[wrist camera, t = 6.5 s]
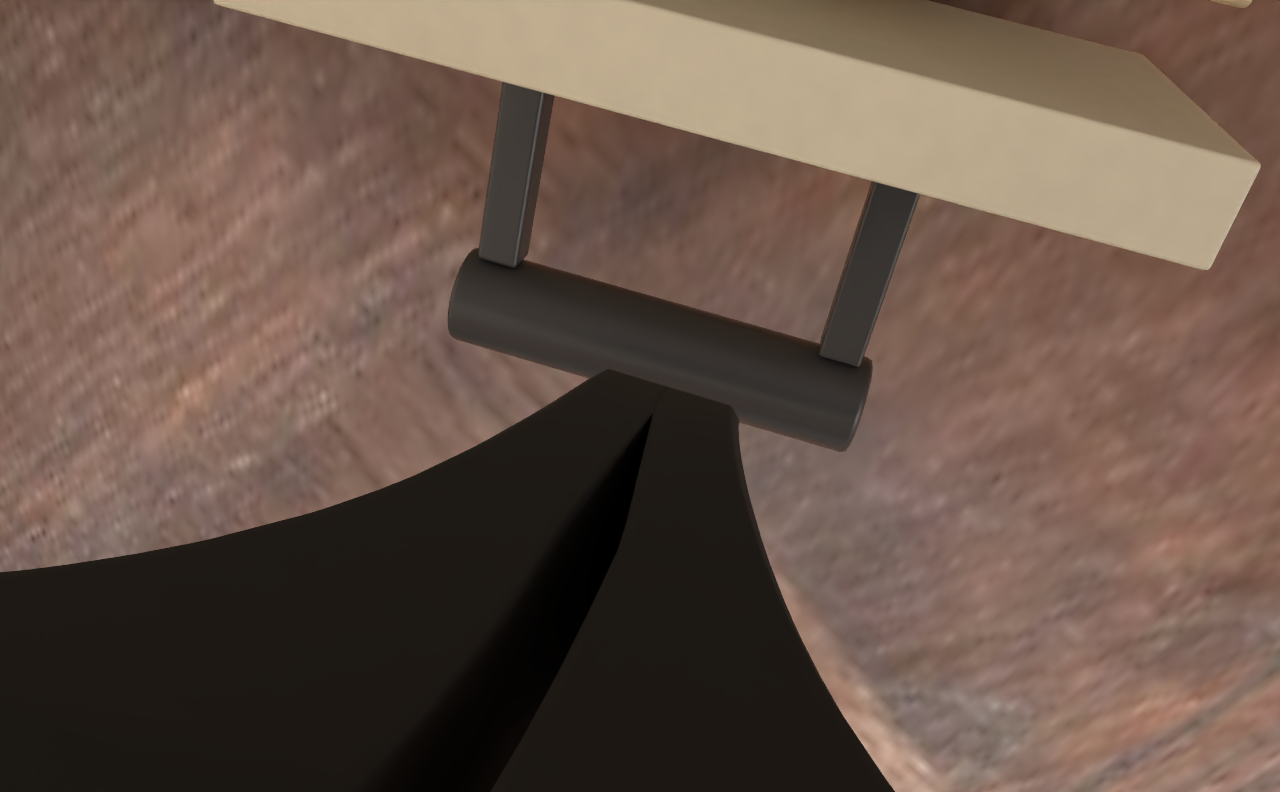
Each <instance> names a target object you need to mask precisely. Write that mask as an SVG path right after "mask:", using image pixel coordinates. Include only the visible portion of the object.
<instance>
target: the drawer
mask: <svg viewBox="0 0 1280 792" xmlns="http://www.w3.org/2000/svg"><path fill="white" fill-rule="evenodd" d="M1210 1H1214V2H1218V3H1222V4H1226V5H1230V6H1234V7H1238V8H1244V7H1247V6H1248V5H1249V4H1250V3H1251V2H1252V0H1210ZM214 3H215V4H217V5H219V6H223V7H227V8H230V9H234V10H238V11H242V12H245V13H249V14H253V15H256V16H260V17H264V18H268V19H271V20H275V21H279V22H282V23H286V24H290V25H294V26H297V27H301V28H305V29H309V30H312V31H316V32H320V33H323V34H327V35H331V36H335V37H338V38H342V39H346V40H349V41H353V42H357V43H361V44H364V45H368V46H372V47H375V48H379V49H383V50H387V51H390V52H394V53H398V54H401V55H405V56H409V57H413V58H416V59H420V60H424V61H428V62H431V63H435V64H439V65H442V66H446V67H450V68H454V69H457V70H461V71H465V72H468V73H472V74H476V75H480V76H483V77H487V78H491V79H494V80H498V81H502V82H503V84H502V91H501V98H500V105H499V112H498V119H497V126H496V133H495V140H494V147H493V154H492V161H491V168H490V175H489V182H488V189H487V196H486V202H485V209H484V216H483V223H482V230H481V237H480V244H479V248H475V249H473V250H472V251H471V252H470V253H469V254H468V255H467V257H466V259H465V260H464V262H463V264H462V265H461V267H460V270H459V272H458V274H457V277H456V280H455V283H454V286H453V289H452V293H451V297H450V302H449V309H448V330H449V333H450V335H451V336H452V337H453V338H455V339H457V340H460V341H463V342H467V343H470V344H474V345H477V346H481V347H484V348H487V349H491V350H494V351H498V352H501V353H504V354H508V355H511V356H515V357H518V358H522V359H525V360H528V361H532V362H535V363H539V364H542V365H545V366H549V367H552V368H556V369H559V370H562V371H566V372H569V373H573V374H576V375H580V376H583V377H586V378H592V377H593V376H595V375H597V374H599V373H601V372H603V371H605V370H607V369H611V370H614V371H618V372H621V373H624V374H628V375H631V376H634V377H638V378H641V379H644V380H648V381H651V382H654V383H658V384H661V385H664V386H668V387H671V388H674V389H678V390H681V391H684V392H688V393H691V394H694V395H698V396H701V397H704V398H708V399H711V400H714V401H718V402H721V403H724V404H728V405H731V406H732V408H733V409H734V411H735V413H736V415H737V417H738V418H739V422H740V423H743V424H747V425H750V426H754V427H757V428H760V429H764V430H767V431H771V432H774V433H778V434H781V435H784V436H788V437H791V438H795V439H798V440H801V441H805V442H808V443H812V444H815V445H819V446H822V447H825V448H829V449H832V450H836V451H839V452H842V451H846V449H847V448H848V447H849V445H850V444H851V442H852V440H853V437H854V435H855V432H856V430H857V427H858V424H859V421H860V418H861V415H862V412H863V409H864V405H865V402H866V398H867V395H868V391H869V387H870V382H871V377H872V370H873V366H872V360H870V359H869V358H868V357H864V354H865V351H866V348H867V345H868V343H869V340H870V337H871V334H872V331H873V328H874V325H875V322H876V320H877V317H878V314H879V311H880V308H881V305H882V302H883V300H884V297H885V294H886V291H887V288H888V285H889V282H890V279H891V277H892V274H893V271H894V268H895V265H896V262H897V259H898V256H899V254H900V251H901V248H902V245H903V242H904V239H905V236H906V233H907V231H908V228H909V225H910V222H911V219H912V216H913V213H914V210H915V208H916V205H917V202H918V199H919V196H920V194H922V195H926V196H930V197H933V198H937V199H941V200H944V201H948V202H952V203H956V204H959V205H963V206H967V207H970V208H974V209H978V210H982V211H985V212H989V213H993V214H996V215H1000V216H1004V217H1008V218H1011V219H1015V220H1019V221H1022V222H1026V223H1030V224H1034V225H1037V226H1041V227H1045V228H1049V229H1052V230H1056V231H1060V232H1063V233H1067V234H1071V235H1075V236H1078V237H1082V238H1086V239H1089V240H1093V241H1097V242H1101V243H1104V244H1108V245H1112V246H1115V247H1119V248H1123V249H1127V250H1130V251H1134V252H1138V253H1141V254H1145V255H1149V256H1153V257H1156V258H1160V259H1164V260H1167V261H1171V262H1175V263H1179V264H1182V265H1186V266H1190V267H1194V268H1197V269H1201V270H1208V269H1209V268H1210V267H1211V266H1212V264H1213V262H1214V260H1215V258H1216V256H1217V254H1218V252H1219V250H1220V248H1221V246H1222V244H1223V242H1224V240H1225V238H1226V236H1227V234H1228V232H1229V230H1230V228H1231V226H1232V224H1233V222H1234V220H1235V218H1236V216H1237V214H1238V212H1239V210H1240V208H1241V206H1242V204H1243V202H1244V200H1245V198H1246V196H1247V194H1248V192H1249V190H1250V188H1251V186H1252V184H1253V182H1254V180H1255V178H1256V176H1257V174H1258V172H1259V170H1260V165H1261V164H1260V163H1259V162H1258V161H1257V160H1256V159H1255V158H1253V157H1252V156H1251V155H1250V154H1249V153H1248V152H1247V151H1246V150H1245V149H1244V148H1243V147H1242V146H1241V145H1240V144H1238V143H1237V142H1236V141H1235V140H1234V139H1233V138H1232V137H1231V136H1230V135H1229V134H1228V133H1227V132H1226V131H1224V130H1223V129H1222V128H1221V127H1220V126H1219V125H1218V124H1217V123H1216V122H1215V121H1214V120H1213V119H1212V118H1211V117H1209V116H1208V115H1207V114H1206V113H1205V112H1204V111H1203V110H1202V109H1201V108H1200V107H1199V106H1198V105H1197V104H1195V103H1194V102H1193V101H1192V100H1191V99H1190V98H1189V97H1188V96H1187V95H1186V94H1185V93H1184V92H1183V91H1182V90H1180V89H1179V88H1178V87H1177V86H1176V85H1175V84H1174V83H1173V82H1172V81H1171V80H1170V79H1169V78H1168V77H1166V76H1165V75H1164V74H1163V73H1162V72H1161V71H1160V70H1159V69H1158V68H1157V67H1156V66H1155V65H1154V64H1153V63H1151V62H1150V61H1149V60H1148V59H1147V58H1146V57H1145V56H1144V55H1143V54H1139V53H1135V52H1131V51H1127V50H1123V49H1119V48H1115V47H1111V46H1107V45H1103V44H1099V43H1095V42H1091V41H1087V40H1083V39H1079V38H1075V37H1071V36H1067V35H1063V34H1059V33H1055V32H1051V31H1047V30H1043V29H1040V28H1036V27H1032V26H1028V25H1024V24H1020V23H1016V22H1012V21H1008V20H1004V19H1000V18H996V17H992V16H988V15H984V14H980V13H976V12H972V11H968V10H964V9H960V8H956V7H952V6H948V5H944V4H940V3H936V2H932V1H929V0H214ZM554 96H558V97H561V98H565V99H569V100H573V101H576V102H580V103H584V104H587V105H591V106H595V107H599V108H602V109H606V110H610V111H613V112H617V113H621V114H625V115H628V116H632V117H636V118H639V119H643V120H647V121H651V122H654V123H658V124H662V125H666V126H669V127H673V128H677V129H680V130H684V131H688V132H692V133H695V134H699V135H703V136H706V137H710V138H714V139H718V140H721V141H725V142H729V143H732V144H736V145H740V146H744V147H747V148H751V149H755V150H758V151H762V152H766V153H770V154H773V155H777V156H781V157H784V158H788V159H792V160H796V161H799V162H803V163H807V164H811V165H814V166H818V167H822V168H825V169H829V170H833V171H837V172H840V173H844V174H848V175H851V176H855V177H859V178H863V179H866V180H870V181H872V182H871V185H870V188H869V191H868V194H867V197H866V201H865V204H864V207H863V210H862V213H861V216H860V219H859V222H858V225H857V228H856V231H855V235H854V238H853V241H852V244H851V247H850V250H849V253H848V256H847V259H846V262H845V266H844V269H843V272H842V275H841V278H840V281H839V284H838V287H837V290H836V293H835V296H834V300H833V303H832V306H831V309H830V312H829V315H828V318H827V321H826V324H825V327H824V331H823V334H822V337H821V341H820V344H818V343H815V342H811V341H808V340H804V339H801V338H797V337H794V336H790V335H787V334H783V333H780V332H776V331H773V330H769V329H766V328H762V327H758V326H755V325H751V324H748V323H744V322H741V321H737V320H734V319H730V318H727V317H723V316H720V315H716V314H713V313H709V312H706V311H702V310H699V309H695V308H692V307H688V306H685V305H681V304H678V303H674V302H671V301H667V300H663V299H660V298H656V297H653V296H649V295H646V294H642V293H639V292H635V291H632V290H628V289H625V288H621V287H618V286H614V285H611V284H607V283H604V282H600V281H597V280H593V279H590V278H586V277H583V276H579V275H575V274H572V273H568V272H565V271H561V270H558V269H554V268H551V267H547V266H544V265H540V264H537V263H533V262H530V261H526V260H523V259H524V258H525V257H526V256H527V254H528V249H529V243H530V237H531V231H532V225H533V219H534V213H535V207H536V201H537V195H538V189H539V184H540V178H541V172H542V166H543V160H544V154H545V148H546V142H547V136H548V130H549V124H550V118H551V112H552V106H553V100H554Z"/></svg>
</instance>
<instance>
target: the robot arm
mask: <svg viewBox="0 0 1280 792" xmlns="http://www.w3.org/2000/svg"><path fill="white" fill-rule="evenodd" d="M738 426H739V418H738V417H737V415H736V413H735V411H734V409H733V408H732V406H731V405H728V404H724V403H721V402H718V401H714V400H711V399H708V398H704V397H701V396H698V395H694V394H691V393H688V392H684V391H681V390H678V389H674V388H671V387H668V386H664V385H661V384H658V383H654V382H651V381H648V380H644V379H641V378H638V377H634V376H631V375H628V374H624V373H621V372H618V371H614V370H611V369H607V370H605V371H603V372H601V373H599V374H597V375H595V376H593V377H592V378H590V379H588V380H587V381H585V382H584V383H582V384H580V385H579V386H577V387H576V388H574V389H573V390H571V391H569V392H568V393H566V394H565V395H563V396H562V397H560V398H558V399H557V400H555V401H554V402H552V403H550V404H549V405H547V406H545V407H544V408H542V409H540V410H539V411H537V412H535V413H534V414H532V415H531V416H529V417H527V418H525V419H523V420H522V421H520V422H518V423H516V424H515V425H513V426H511V427H509V428H507V429H506V430H504V431H502V432H500V433H499V434H497V435H495V436H493V437H491V438H490V439H488V440H486V441H484V442H482V443H481V444H479V445H477V446H475V447H473V448H471V449H469V450H467V451H465V452H463V453H461V454H459V455H456V456H454V457H452V458H450V459H448V460H446V461H444V462H442V463H440V464H438V465H436V466H433V467H431V468H429V469H427V470H425V471H423V472H421V473H419V474H417V475H415V476H412V477H410V478H407V479H405V480H403V481H400V482H398V483H395V484H392V485H390V486H387V487H385V488H382V489H380V490H377V491H374V492H371V493H368V494H366V495H363V496H360V497H357V498H354V499H351V500H348V501H345V502H343V503H340V504H337V505H334V506H331V507H328V508H325V509H322V510H319V511H315V512H312V513H309V514H305V515H302V516H298V517H294V518H290V519H286V520H282V521H278V522H275V523H271V524H267V525H263V526H259V527H255V528H251V529H248V530H244V531H240V532H236V533H232V534H228V535H224V536H221V537H217V538H213V539H209V540H204V541H200V542H195V543H190V544H185V545H180V546H175V547H170V548H164V549H159V550H154V551H149V552H144V553H138V554H133V555H126V556H120V557H114V558H107V559H101V560H95V561H88V562H82V563H76V564H69V565H61V566H53V567H46V568H38V569H31V570H21V571H10V572H0V792H895V791H894V790H893V788H892V787H891V786H890V784H889V783H888V782H887V780H886V779H885V777H884V776H883V775H882V773H881V772H880V770H879V769H878V767H877V766H876V764H875V763H874V761H873V760H872V758H871V757H870V755H869V754H868V752H867V751H866V749H865V748H864V746H863V745H862V743H861V742H860V740H859V739H858V737H857V736H856V734H855V733H854V731H853V730H852V728H851V727H850V726H849V724H848V723H847V721H846V720H845V718H844V717H843V715H842V713H841V712H840V710H839V708H838V706H837V705H836V703H835V701H834V699H833V698H832V696H831V694H830V693H829V691H828V689H827V687H826V686H825V684H824V682H823V680H822V679H821V677H820V675H819V673H818V671H817V669H816V667H815V665H814V663H813V661H812V659H811V657H810V655H809V653H808V651H807V649H806V647H805V646H804V644H803V642H802V639H801V637H800V635H799V633H798V631H797V629H796V627H795V624H794V622H793V620H792V618H791V615H790V613H789V611H788V608H787V606H786V604H785V602H784V599H783V597H782V594H781V591H780V589H779V586H778V584H777V581H776V578H775V576H774V573H773V571H772V568H771V566H770V563H769V560H768V557H767V554H766V551H765V548H764V545H763V542H762V539H761V536H760V532H759V529H758V525H757V522H756V518H755V515H754V511H753V508H752V505H751V501H750V497H749V493H748V489H747V485H746V480H745V475H744V470H743V465H742V459H741V453H740V445H739V429H738Z"/></svg>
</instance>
